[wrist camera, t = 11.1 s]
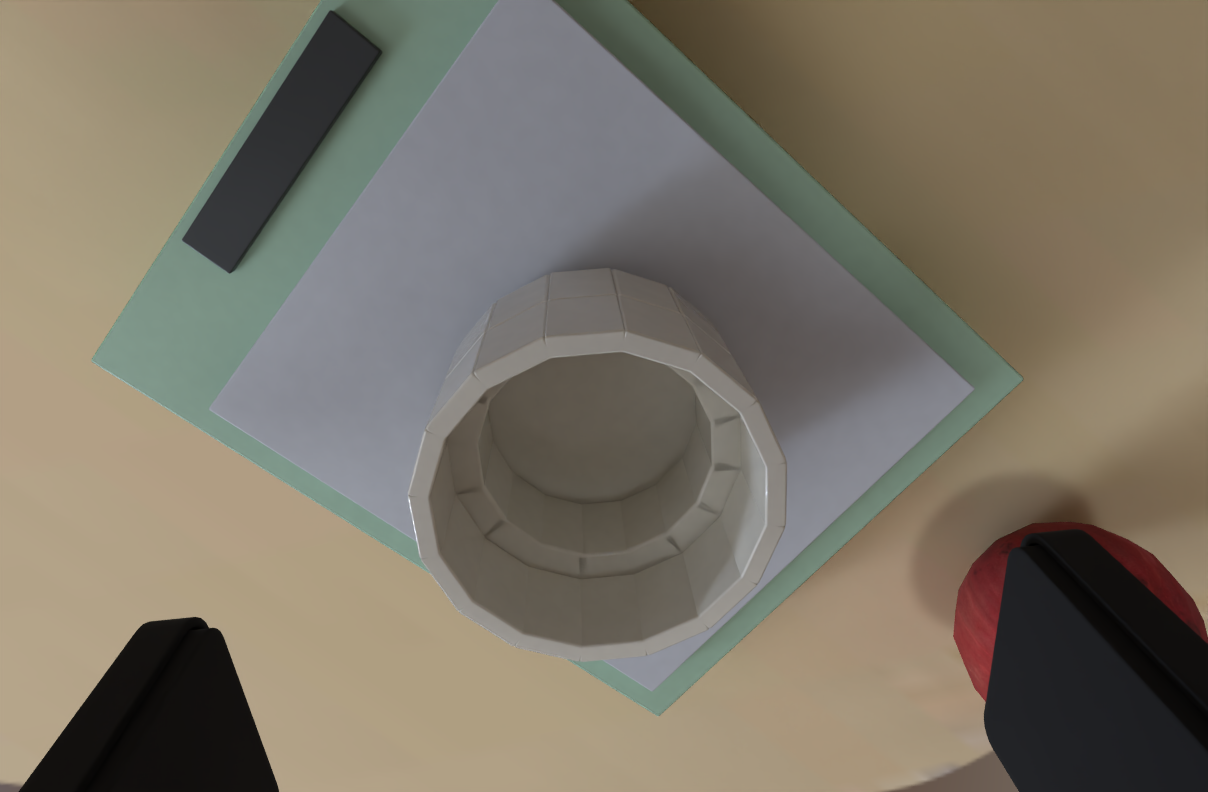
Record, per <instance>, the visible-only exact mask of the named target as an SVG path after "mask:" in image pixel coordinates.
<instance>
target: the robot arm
mask: <svg viewBox="0 0 1208 792" xmlns="http://www.w3.org/2000/svg"><path fill="white" fill-rule="evenodd" d="M984 724H985V729H986V733H987V737H988V739H989V742H990V744H991V746H992V748H993V750H994V751H995V753H996V754H997V756H998V758H999V760H1000V761H1001V762H1002V764H1003V766H1004V768H1005V769H1006V771H1007V773H1008V774H1009V776H1010V778H1011V779H1012V781H1013V782H1014V784H1015V786H1016V787H1017V789H1018V791H1019V792H1208V644H1207V643H1206V642H1205V641H1204V640H1203V639H1202V638H1201V637H1200V636H1199V635H1198V634H1197V633H1196V632H1194V631H1193V630H1192V629H1191V628H1190V627H1189V626H1188V625H1187V624H1186V623H1185V622H1184V621H1183V620H1181V619H1180V618H1179V617H1178V616H1177V615H1176V614H1175V613H1174V612H1173V611H1172V610H1171V609H1170V608H1168V607H1167V606H1166V605H1165V604H1164V603H1163V602H1162V601H1161V600H1160V599H1159V598H1158V597H1157V596H1155V595H1154V594H1153V593H1152V592H1151V591H1150V590H1149V589H1148V588H1147V587H1146V586H1145V585H1144V584H1142V583H1141V582H1140V581H1139V580H1138V579H1137V578H1136V577H1135V576H1134V575H1133V574H1132V573H1131V572H1129V571H1128V570H1127V569H1126V568H1125V567H1124V566H1123V565H1122V564H1121V563H1120V562H1119V561H1118V560H1116V559H1115V558H1114V557H1113V556H1112V555H1111V554H1110V553H1109V552H1108V551H1107V550H1106V549H1105V548H1103V547H1102V546H1101V545H1100V544H1099V543H1098V542H1097V541H1096V540H1095V539H1094V538H1093V537H1092V536H1090V535H1089V534H1088V533H1086V532H1085V531H1083V530H1080V529H1069V530H1059V531H1049V532H1039V533H1031V534H1028V535H1026V536H1025V537H1024V539H1023V540H1022V542H1021V545H1020V547H1016V548H1013V549H1012V550H1011V551H1010V553H1009V556H1008V559H1007V566H1006V573H1005V579H1004V586H1003V592H1002V599H1001V605H1000V612H999V619H998V625H997V632H996V638H995V645H994V651H993V658H992V665H991V671H990V678H989V684H988V691H987V697H986V704H985V711H984ZM19 792H279V789H278V785H277V782H276V780H275V777H274V774H273V771H272V769H271V766H270V763H269V760H268V758H267V755H266V752H265V749H264V747H263V744H262V741H261V739H260V736H259V733H258V730H257V728H256V725H255V722H254V719H253V717H252V714H251V711H250V708H249V706H248V703H247V700H246V697H245V695H244V692H243V689H242V686H241V684H240V681H239V678H238V675H237V673H236V670H235V667H234V664H233V662H232V659H231V656H230V653H229V651H228V648H227V645H226V642H225V640H224V637H223V635H222V633H221V632H220V631H219V630H218V629H216V628H209V627H208V625H207V624H206V622H205V621H204V620H202V619H201V618H198V617H191V618H181V619H171V620H161V621H151V622H147V623H145V624H143V625H142V626H141V627H140V628H139V629H138V630H137V631H136V632H135V634H134V635H133V636H132V638H131V639H130V641H129V642H128V643H127V645H126V646H125V647H124V649H123V650H122V651H121V653H120V654H119V656H118V657H117V658H116V660H115V661H114V662H113V664H112V665H111V666H110V668H109V669H108V671H107V672H106V673H105V675H104V676H103V677H102V679H101V680H100V681H99V683H98V684H97V686H96V687H95V688H94V690H93V691H92V692H91V694H90V695H89V696H88V698H87V699H86V701H85V702H84V703H83V705H82V706H81V707H80V709H79V710H78V711H77V713H76V714H75V716H74V717H73V718H72V720H71V721H70V722H69V724H68V725H67V726H66V728H65V729H64V731H63V732H62V733H61V735H60V736H59V737H58V739H57V740H56V741H55V743H54V744H53V746H52V747H51V748H50V750H49V751H48V752H47V754H46V755H45V756H44V758H43V759H42V761H41V762H40V763H39V765H38V766H37V767H36V769H35V770H34V771H33V773H32V774H31V776H30V777H29V778H28V780H27V781H26V782H25V784H24V785H23V786H22V788H21V789H20V791H19Z"/></svg>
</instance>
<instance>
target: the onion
mask: <svg viewBox="0 0 1208 792" xmlns="http://www.w3.org/2000/svg"><path fill="white" fill-rule="evenodd" d="M1069 529H1080V530H1083V531H1085V532H1086V533H1088V534H1089V535H1090V536H1092V537H1093V538H1094V539H1095V540H1096V541H1097V542H1098V543H1099V544H1100V545H1101V546H1102V547H1103V548H1105V549H1106V550H1107V551H1108V552H1109V553H1110V554H1111V555H1112V556H1113V557H1114V558H1115V559H1116V560H1118V561H1119V562H1120V563H1121V564H1122V565H1123V566H1124V567H1125V568H1126V569H1127V570H1128V571H1129V572H1131V573H1132V574H1133V575H1134V576H1135V577H1136V578H1137V579H1138V580H1139V581H1140V582H1141V583H1142V584H1144V585H1145V586H1146V587H1147V588H1148V589H1149V590H1150V591H1151V592H1152V593H1153V594H1154V595H1155V596H1157V597H1158V598H1159V599H1160V600H1161V601H1162V602H1163V603H1164V604H1165V605H1166V606H1167V607H1168V608H1170V609H1171V610H1172V611H1173V612H1174V613H1175V614H1176V615H1177V616H1178V617H1179V618H1180V619H1181V620H1183V621H1184V622H1185V623H1186V624H1187V625H1188V626H1189V627H1190V628H1191V629H1192V630H1193V631H1194V632H1196V633H1197V634H1198V635H1199V636H1200V637H1201V638H1202V639H1203V640H1204V641H1205V642H1206V643H1207V644H1208V636H1207V632H1206V628H1205V624H1204V620H1203V618H1202V616H1201V614H1200V612H1199V610H1198V608H1197V606H1196V604H1195V602H1194V600H1193V599H1192V598H1191V597H1190V595H1189V594H1188V593H1187V592H1186V591H1185V590H1184V588H1183V587H1182V586H1181V585H1180V584H1179V583H1178V581H1177V580H1176V579H1175V578H1174V577H1173V576H1172V575H1171V573H1170V572H1169V571H1168V570H1167V569H1166V568H1165V567H1164V566H1163V565H1162V564H1161V563H1160V561H1159V560H1158V559H1157V558H1156V557H1155V556H1154V555H1153V554H1151V553H1150V552H1148V551H1146V550H1145V549H1143V548H1141V547H1140V546H1138V545H1136V544H1135V543H1133V542H1131V541H1129V540H1128V539H1126V538H1123V537H1121V536H1118V535H1116V534H1113V533H1111V532H1108V531H1106V530H1104V529H1101V528H1099V527H1096V526H1094V525H1089V524H1082V523H1075V522H1052V523H1032V524H1030V525H1028V526H1026V527H1024V528H1022V529H1019V530H1017V531H1015V532H1013V533H1011V534H1009V535H1006V536H1004V537H1002V538H1000V539H998V540H996V541H995V542H994V543H993V544H992V545H991V546H990V547H989V548H988V549H987V550H986V551H985V552H984V553H983V554H982V555H981V556H980V557H979V558H978V559H977V560H976V561H975V562H974V563H973V564H972V566H971V568H970V570H969V572H968V574H967V575H966V577H965V579H964V581H963V583H962V584H961V586H960V588H959V591H958V598H957V604H956V612H955V622H954V635H953V637H954V640H955V642H956V645H957V647H958V649H959V652H960V654H961V657H962V659H963V662H964V664H965V667H966V669H967V671H968V674H969V676H970V678H971V681H972V683H973V685H974V688H975V689H976V691H977V692H978V693H979V694H980V695H981V697H982V698H983V699H984V700H985V702H986V697H987V691H988V684H989V678H990V671H991V665H992V658H993V651H994V645H995V638H996V632H997V625H998V619H999V612H1000V605H1001V599H1002V592H1003V586H1004V579H1005V573H1006V566H1007V559H1008V556H1009V553H1010V551H1011V550H1012V549H1013V548H1016V547H1020V545H1021V542H1022V540H1023V539H1024V537H1025V536H1026V535H1028V534H1031V533H1039V532H1049V531H1059V530H1069Z"/></svg>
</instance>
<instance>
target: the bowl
mask: <svg viewBox="0 0 1208 792" xmlns="http://www.w3.org/2000/svg"><path fill="white" fill-rule="evenodd" d="M408 501H409V507H410V512H411V517H412V522H413V527H414V532H415V537H416V542H417V547H418V552H419V556H420V558H421V561H422V562H423V564H424V565H425V567H426V568H427V569H428V571H429V572H430V573H431V575H432V576H433V578H434V579H435V580H436V582H437V583H438V585H439V586H440V587H441V589H442V590H443V591H444V593H445V594H446V596H447V597H448V598H449V600H450V601H451V603H452V604H453V605H454V607H455V608H456V609H457V610H458V611H459V612H460V613H461V614H462V615H464V616H466V617H467V618H469V619H470V620H472V621H474V622H475V623H477V624H478V625H480V626H481V627H483V628H485V629H486V630H488V631H489V632H491V633H493V634H494V635H496V636H497V637H499V638H500V639H502V640H504V641H505V642H507V643H508V644H510V645H512V646H515V647H516V648H520V649H525V650H529V651H533V652H538V653H542V654H546V655H551V656H555V657H560V658H564V659H568V660H573V661H577V662H579V661H581V662H588V661H599V660H610V659H621V658H631V657H642V656H647V654H648V655H651V654H654V653H656V652H658V651H661V650H663V649H665V648H668V647H670V646H672V645H675V644H677V643H679V642H681V641H684V640H686V639H688V638H691V637H693V636H695V635H698V634H700V633H702V632H705V631H707V630H708V629H709V628H712V627H713V626H714V625H715V624H716V623H717V622H718V621H719V620H720V619H721V618H723V617H724V616H725V615H726V614H727V613H728V612H729V611H730V610H731V609H732V608H733V607H734V606H736V605H737V604H738V603H739V602H740V601H741V600H742V599H743V598H744V597H745V596H746V595H747V594H749V593H750V592H751V591H752V590H753V589H754V588H755V587H756V586H757V584H758V583H759V582H760V580H761V578H762V576H763V573H764V571H765V569H766V567H767V565H768V563H769V561H770V559H771V557H772V555H773V552H774V550H775V548H776V546H777V544H778V542H779V540H780V538H781V536H782V534H783V531H784V529H785V525H786V505H787V462H786V457H785V455H784V453H783V451H782V449H781V446H780V444H779V442H778V440H777V438H776V436H775V433H774V431H773V429H772V427H771V425H770V423H769V421H768V418H767V416H766V414H765V412H764V410H763V408H762V406H761V403H760V401H759V400H758V398H757V396H756V395H755V393H754V391H753V389H752V388H751V386H750V384H749V383H748V381H747V379H746V378H745V376H744V374H743V372H742V371H741V369H740V367H739V366H738V364H737V362H736V361H735V359H734V357H733V356H732V354H731V352H730V351H729V349H728V347H727V346H726V344H725V342H724V340H723V339H722V337H721V335H720V334H719V332H718V330H717V329H716V327H715V326H714V324H713V323H712V322H711V321H710V320H709V319H708V318H707V317H706V316H704V315H703V314H702V313H701V312H700V311H699V310H697V309H696V308H695V307H694V306H693V305H692V304H690V303H689V302H688V301H687V300H686V299H685V298H683V297H682V296H681V295H680V294H679V293H678V292H676V291H675V290H674V289H673V288H672V287H669V288H668V286H666V285H664V284H661V283H658V282H655V281H652V280H649V279H645V278H642V277H639V276H636V275H633V274H629V273H626V272H623V271H620V270H617V269H612V270H611V269H610V268H600V269H588V270H577V271H565V272H553V273H551V274H550V275H545V276H543V277H541V278H539V279H537V280H535V281H533V282H531V283H529V284H527V285H525V286H523V287H521V288H519V289H517V290H515V291H513V292H512V293H510V294H508V295H506V296H504V297H502V298H500V299H498V300H497V301H496V303H493V304H492V305H491V306H490V307H489V309H488V310H487V311H486V312H485V313H484V315H483V316H482V317H481V318H480V319H479V321H478V322H477V323H476V324H475V326H474V327H473V328H472V329H471V330H470V332H469V333H468V334H467V335H466V336H465V338H464V339H463V340H462V341H461V343H460V344H459V347H458V348H457V350H456V352H455V355H454V357H453V360H452V362H451V365H450V367H449V370H448V372H447V375H446V377H445V380H444V382H443V385H442V387H441V389H440V392H439V394H438V397H437V399H436V402H435V404H434V407H433V409H432V412H431V414H430V417H429V420H428V422H427V425H426V427H425V430H424V433H423V436H422V440H421V444H420V448H419V451H418V455H417V459H416V463H415V467H414V470H413V474H412V478H411V482H410V485H409V489H408Z"/></svg>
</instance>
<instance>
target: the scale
mask: <svg viewBox="0 0 1208 792" xmlns="http://www.w3.org/2000/svg"><path fill="white" fill-rule="evenodd" d="M600 268H610V269H611V270H612V269H617V270H620V271H623V272H626V273H629V274H633V275H636V276H639V277H642V278H645V279H649V280H652V281H655V282H658V283H661V284H664V285H666V286H668V288H669V287H672V288H673V289H674V290H675V291H676V292H678V293H679V294H680V295H681V296H682V297H683V298H685V299H686V300H687V301H688V302H689V303H690V304H692V305H693V306H694V307H695V308H696V309H697V310H699V311H700V312H701V313H702V314H703V315H704V316H706V317H707V318H708V319H709V320H710V321H711V322H712V323H713V324H714V326H715V327H716V329H717V330H718V332H719V334H720V335H721V337H722V339H723V340H724V342H725V344H726V346H727V347H728V349H729V351H730V352H731V354H732V356H733V357H734V359H735V361H736V362H737V364H738V366H739V367H740V369H741V371H742V372H743V374H744V376H745V378H746V379H747V381H748V383H749V384H750V386H751V388H752V389H753V391H754V393H755V395H756V396H757V398H758V400H759V401H760V403H761V406H762V408H763V410H764V412H765V414H766V416H767V418H768V421H769V423H770V425H771V427H772V429H773V431H774V433H775V436H776V438H777V440H778V442H779V444H780V446H781V449H782V451H783V453H784V455H785V457H786V462H787V505H786V525H785V529H784V531H783V534H782V536H781V538H780V540H779V542H778V544H777V546H776V548H775V550H774V552H773V555H772V557H771V559H770V561H769V563H768V565H767V567H766V569H765V571H764V573H763V576H762V578H761V580H760V582H759V583H758V584H757V586H756V587H755V588H754V589H753V590H752V591H751V592H750V593H749V594H747V595H746V596H745V597H744V598H743V599H742V600H741V601H740V602H739V603H738V604H737V605H736V606H734V607H733V608H732V609H731V610H730V611H729V612H728V613H727V614H726V615H725V616H724V617H723V618H721V619H720V620H719V621H718V622H717V623H716V624H715V625H714V626H713V627H712V628H709V629H708V630H707V631H705V632H702V633H700V634H698V635H695V636H693V637H691V638H688V639H686V640H684V641H681V642H679V643H677V644H675V645H672V646H670V647H668V648H665V649H663V650H661V651H658V652H656V653H654V654H651V655H648V654H647V656H642V657H631V658H621V659H610V660H599V661H588V662H581V661H579V662H577V661H573V660H569V661H570V662H572V663H573V664H575V665H577V666H578V667H580V668H581V669H583V670H585V671H586V672H588V673H589V674H591V675H593V676H594V677H596V678H597V679H599V680H601V681H602V682H604V683H605V684H607V685H609V686H610V687H612V688H613V689H615V690H617V691H618V692H620V693H621V694H623V695H625V696H626V697H628V698H629V699H631V700H633V701H634V702H636V703H637V704H639V705H640V706H642V707H644V708H645V709H647V710H648V711H650V712H652V713H653V714H655V715H656V716H660V715H661V714H662V713H663V712H664V711H665V710H666V709H667V708H668V707H669V706H671V705H672V704H673V703H674V702H675V701H676V700H677V699H678V698H679V697H680V696H681V695H682V694H684V693H685V692H686V691H687V690H688V689H689V688H690V687H691V686H692V685H693V684H694V683H695V682H697V681H698V680H699V679H700V678H701V677H702V676H703V675H704V674H705V673H706V672H707V671H708V670H710V669H711V668H712V667H713V666H714V665H715V664H716V663H717V662H718V661H719V660H720V659H721V658H723V657H724V656H725V655H726V654H727V653H728V652H729V651H730V650H731V649H732V648H733V647H734V646H736V645H737V644H738V643H739V642H740V641H741V640H742V639H743V638H744V637H745V636H746V635H747V634H749V633H750V632H751V631H752V630H753V629H754V628H755V627H756V626H757V625H758V624H759V623H760V622H762V621H763V620H764V619H765V618H766V617H767V616H768V615H769V614H770V613H771V612H772V611H773V610H775V609H776V608H777V607H778V606H779V605H780V604H781V603H782V602H783V601H784V600H785V599H786V598H788V597H789V596H790V595H791V594H792V593H793V592H794V591H795V590H796V589H797V588H798V587H800V586H801V585H802V584H803V583H804V582H805V581H806V580H807V579H808V578H809V577H810V576H811V575H813V574H814V573H815V572H816V571H817V570H818V569H819V568H820V567H821V566H822V565H823V564H824V563H826V562H827V561H828V560H829V559H830V558H831V557H832V556H833V555H834V554H835V553H836V552H837V551H839V550H840V549H841V548H842V547H843V546H844V545H845V544H846V543H847V542H848V541H849V540H850V539H852V538H853V537H854V536H855V535H856V534H857V533H858V532H859V531H860V530H861V529H862V528H863V527H865V526H866V525H867V524H868V523H869V522H870V521H871V520H872V519H873V518H874V517H875V516H876V515H878V514H879V513H880V512H881V511H882V510H883V509H884V508H885V507H886V506H887V505H888V504H889V503H891V502H892V501H893V500H894V499H895V498H896V497H897V496H898V495H899V494H900V493H901V492H902V491H904V490H905V489H906V488H907V487H908V486H909V485H910V484H911V483H912V482H913V481H914V480H915V479H917V478H918V477H919V476H920V475H921V474H922V473H923V472H924V471H925V470H926V469H927V468H928V467H930V466H931V465H932V464H933V463H934V462H935V461H936V460H937V459H938V458H939V457H940V456H941V455H943V454H944V453H945V452H946V451H947V450H948V449H949V448H950V447H951V446H952V445H953V444H954V443H956V442H957V441H958V440H959V439H960V438H961V437H962V436H963V435H964V434H965V433H966V432H967V431H969V430H970V429H971V428H972V427H973V426H974V425H975V424H976V423H977V422H978V421H979V420H980V419H982V418H983V417H984V416H985V415H986V414H987V413H988V412H989V411H990V410H991V409H992V408H994V407H995V406H996V405H997V404H998V403H999V402H1000V401H1001V400H1002V399H1003V398H1004V397H1005V396H1007V395H1008V394H1009V393H1010V392H1011V391H1012V390H1013V389H1014V388H1015V387H1016V386H1017V385H1018V384H1020V383H1021V382H1022V381H1023V377H1022V376H1021V375H1020V374H1019V373H1018V372H1017V371H1016V370H1015V369H1014V368H1013V367H1012V366H1011V365H1010V364H1009V363H1007V362H1006V361H1005V360H1004V359H1003V358H1002V357H1001V356H1000V355H999V354H998V353H997V352H996V351H995V350H994V349H993V348H992V347H991V346H990V345H989V344H988V343H986V342H985V341H984V340H983V339H982V338H981V337H980V336H979V335H978V334H977V333H976V332H975V331H974V330H973V329H972V328H971V327H970V326H969V325H968V324H967V323H965V322H964V321H963V320H962V319H961V318H960V317H959V316H958V315H957V314H956V313H955V312H954V311H953V310H952V309H951V308H950V307H949V306H948V305H947V304H946V303H944V302H943V301H942V300H941V299H940V298H939V297H938V296H937V295H936V294H935V293H934V292H933V291H932V290H931V289H930V288H929V287H928V286H927V285H926V284H925V283H924V282H922V281H921V280H920V279H919V278H918V277H917V276H916V275H915V274H914V273H913V272H912V271H911V270H910V269H909V268H908V267H907V266H906V265H905V264H904V263H903V262H901V261H900V260H899V259H898V258H897V257H896V256H895V255H894V254H893V253H892V252H891V251H890V250H889V249H888V248H887V247H886V246H885V245H884V244H883V243H882V242H880V241H879V240H878V239H877V238H876V237H875V236H874V235H873V234H872V233H871V232H870V231H869V230H868V229H867V228H866V227H865V226H864V225H863V224H862V223H861V222H859V221H858V220H857V219H856V218H855V217H854V216H853V215H852V214H851V213H850V212H849V211H848V210H847V209H846V208H845V207H844V206H843V205H842V204H841V203H840V202H839V201H837V200H836V199H835V198H834V197H833V196H832V195H831V194H830V193H829V192H828V191H827V190H826V189H825V188H824V187H823V186H822V185H821V184H820V183H819V182H818V181H816V180H815V179H814V178H813V177H812V176H811V175H810V174H809V173H808V172H807V171H806V170H805V169H804V168H803V167H802V166H801V165H800V164H799V163H798V162H797V161H795V160H794V159H793V158H792V157H791V156H790V155H789V154H788V153H787V152H786V151H785V150H784V149H783V148H782V147H781V146H780V145H779V144H778V143H777V142H776V141H774V140H773V139H772V138H771V137H770V136H769V135H768V134H767V133H766V132H765V131H764V130H763V129H762V128H761V127H760V126H759V125H758V124H757V123H756V122H755V121H754V120H752V119H751V118H750V117H749V116H748V115H747V114H746V113H745V112H744V111H743V110H742V109H741V108H740V107H739V106H738V105H737V104H736V103H735V102H734V101H733V100H731V99H730V98H729V97H728V96H727V95H726V94H725V93H724V92H723V91H722V90H721V89H720V88H719V87H718V86H717V85H716V84H715V83H714V82H713V81H712V80H710V79H709V78H708V77H707V76H706V75H705V74H704V73H703V72H702V71H701V70H700V69H699V68H698V67H697V66H696V65H695V64H694V63H693V62H692V61H691V60H689V59H688V58H687V57H686V56H685V55H684V54H683V53H682V52H681V51H680V50H679V49H678V48H677V47H676V46H675V45H674V44H673V43H672V42H671V41H670V40H669V39H667V38H666V37H665V36H664V35H663V34H662V33H661V32H660V31H659V30H658V29H657V28H656V27H655V26H654V25H653V24H652V23H651V22H650V21H649V20H648V19H646V18H645V17H644V16H643V15H642V14H641V13H640V12H639V11H638V10H637V9H636V8H635V7H634V6H633V5H632V4H631V3H630V2H629V1H628V0H321V1H320V3H319V4H318V6H317V7H316V9H315V10H314V12H313V14H312V15H311V17H310V18H309V20H308V21H307V23H306V25H305V26H304V28H303V29H302V31H301V32H300V34H299V36H298V37H297V39H296V40H295V42H294V43H293V45H292V46H291V48H290V50H289V51H288V53H287V54H286V56H285V57H284V59H283V61H282V62H281V64H280V65H279V67H278V68H277V70H276V72H275V73H274V75H273V76H272V78H271V79H270V81H269V82H268V84H267V86H266V87H265V89H264V90H263V92H262V93H261V95H260V97H259V98H258V100H257V101H256V103H255V104H254V106H253V108H252V109H251V111H250V112H249V114H248V115H247V117H246V118H245V120H244V122H243V123H242V125H241V126H240V128H239V129H238V131H237V133H236V134H235V136H234V137H233V139H232V140H231V142H230V144H229V145H228V147H227V148H226V150H225V151H224V153H223V154H222V156H221V158H220V159H219V161H218V162H217V164H216V165H215V167H214V169H213V170H212V172H211V173H210V175H209V176H208V178H207V179H206V181H205V183H204V184H203V186H202V187H201V189H200V190H199V192H198V194H197V195H196V197H195V198H194V200H193V201H192V203H191V205H190V206H189V208H188V209H187V211H186V212H185V214H184V215H183V217H182V219H181V220H180V222H179V223H178V225H177V226H176V228H175V230H174V231H173V233H172V234H171V236H170V237H169V239H168V241H167V242H166V244H165V245H164V247H163V248H162V250H161V251H160V253H159V255H158V256H157V258H156V259H155V261H154V262H153V264H152V266H151V267H150V269H149V270H148V272H147V273H146V275H145V277H144V278H143V280H142V281H141V283H140V284H139V286H138V287H137V289H136V291H135V292H134V294H133V295H132V297H131V298H130V300H129V302H128V303H127V305H126V306H125V308H124V309H123V311H122V313H121V314H120V316H119V317H118V319H117V320H116V322H115V323H114V325H113V327H112V328H111V330H110V331H109V333H108V334H107V336H106V338H105V339H104V341H103V342H102V344H101V345H100V347H99V349H98V350H97V352H96V353H95V355H94V356H93V358H92V362H93V363H95V364H96V365H98V366H99V367H101V368H103V369H104V370H106V371H107V372H109V373H111V374H112V375H114V376H115V377H117V378H119V379H120V380H122V381H123V382H125V383H127V384H128V385H130V386H131V387H133V388H134V389H136V390H138V391H139V392H141V393H142V394H144V395H146V396H147V397H149V398H150V399H152V400H154V401H155V402H157V403H158V404H160V405H162V406H163V407H165V408H166V409H168V410H170V411H171V412H173V413H174V414H176V415H178V416H179V417H181V418H182V419H184V420H186V421H187V422H189V423H190V424H192V425H194V426H195V427H197V428H198V429H200V430H202V431H203V432H205V433H206V434H208V435H210V436H211V437H213V438H214V439H216V440H217V441H219V442H221V443H222V444H224V445H225V446H227V447H229V448H230V449H232V450H233V451H235V452H237V453H238V454H240V455H241V456H243V457H245V458H246V459H248V460H249V461H251V462H253V463H254V464H256V465H257V466H259V467H261V468H262V469H264V470H265V471H267V472H269V473H270V474H272V475H273V476H275V477H277V478H278V479H280V480H281V481H283V482H285V483H286V484H288V485H289V486H291V487H293V488H294V489H296V490H297V491H299V492H300V493H302V494H304V495H305V496H307V497H308V498H310V499H312V500H313V501H315V502H316V503H318V504H320V505H321V506H323V507H324V508H326V509H328V510H329V511H331V512H332V513H334V514H336V515H337V516H339V517H340V518H342V519H344V520H345V521H347V522H348V523H350V524H352V525H353V526H355V527H356V528H358V529H360V530H361V531H363V532H364V533H366V534H368V535H369V536H371V537H372V538H374V539H376V540H377V541H379V542H380V543H382V544H384V545H385V546H387V547H388V548H390V549H391V550H393V551H395V552H396V553H398V554H399V555H401V556H403V557H404V558H406V559H407V560H409V561H411V562H412V563H414V564H415V565H417V566H419V567H420V568H422V569H423V570H425V571H427V572H428V573H430V572H429V571H428V569H427V568H426V567H425V565H424V564H423V562H422V561H421V558H420V556H419V552H418V547H417V542H416V537H415V532H414V527H413V522H412V517H411V512H410V507H409V501H408V489H409V485H410V482H411V478H412V474H413V470H414V467H415V463H416V459H417V455H418V451H419V448H420V444H421V440H422V436H423V433H424V430H425V427H426V425H427V422H428V420H429V417H430V414H431V412H432V409H433V407H434V404H435V402H436V399H437V397H438V394H439V392H440V389H441V387H442V385H443V382H444V380H445V377H446V375H447V372H448V370H449V367H450V365H451V362H452V360H453V357H454V355H455V352H456V350H457V348H458V347H459V344H460V343H461V341H462V340H463V339H464V338H465V336H466V335H467V334H468V333H469V332H470V330H471V329H472V328H473V327H474V326H475V324H476V323H477V322H478V321H479V319H480V318H481V317H482V316H483V315H484V313H485V312H486V311H487V310H488V309H489V307H490V306H491V305H492V304H493V303H496V301H497V300H498V299H500V298H502V297H504V296H506V295H508V294H510V293H512V292H513V291H515V290H517V289H519V288H521V287H523V286H525V285H527V284H529V283H531V282H533V281H535V280H537V279H539V278H541V277H543V276H545V275H550V274H551V273H553V272H565V271H577V270H588V269H600ZM430 574H431V573H430ZM567 660H568V659H567Z"/></svg>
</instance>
